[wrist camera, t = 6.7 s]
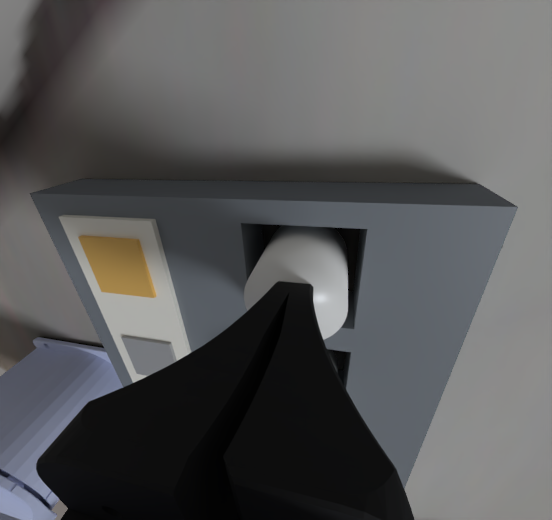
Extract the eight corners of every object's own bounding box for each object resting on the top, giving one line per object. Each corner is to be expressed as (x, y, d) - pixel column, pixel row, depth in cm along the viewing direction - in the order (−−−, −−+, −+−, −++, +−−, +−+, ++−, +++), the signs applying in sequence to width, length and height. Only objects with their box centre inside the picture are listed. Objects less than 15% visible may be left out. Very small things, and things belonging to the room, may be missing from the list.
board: (165, 398, 25) (140, 438, 22) (81, 179, 16) (19, 196, 13) (395, 446, 21) (403, 501, 18) (479, 184, 11) (526, 212, 8)
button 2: (270, 284, 15) (248, 336, 12) (266, 216, 13) (238, 255, 10) (344, 291, 14) (343, 349, 11) (351, 219, 12) (353, 263, 9)
